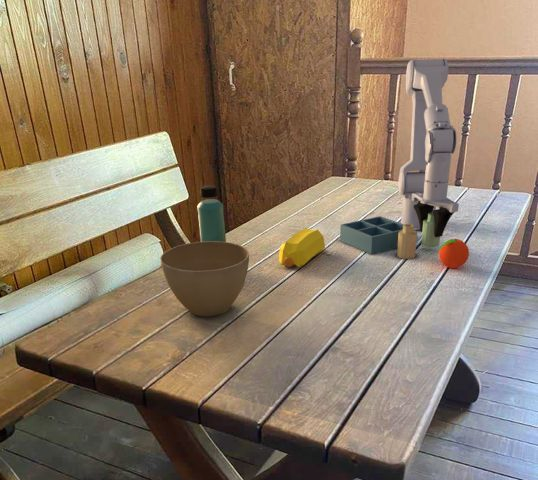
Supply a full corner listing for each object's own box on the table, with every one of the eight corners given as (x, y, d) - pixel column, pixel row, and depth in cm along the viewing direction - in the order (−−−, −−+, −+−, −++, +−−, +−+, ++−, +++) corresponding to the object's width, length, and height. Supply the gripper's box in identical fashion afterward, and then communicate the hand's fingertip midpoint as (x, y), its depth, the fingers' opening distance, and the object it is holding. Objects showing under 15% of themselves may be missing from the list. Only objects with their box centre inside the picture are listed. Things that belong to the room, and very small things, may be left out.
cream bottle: (406, 251, 152) (409, 221, 148) (418, 256, 148) (421, 226, 144) (393, 255, 150) (395, 224, 146) (405, 260, 146) (407, 229, 143)
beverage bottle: (224, 271, 144) (218, 190, 134) (199, 270, 145) (190, 189, 136) (231, 262, 149) (225, 183, 140) (206, 261, 151) (199, 183, 141)
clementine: (445, 275, 137) (449, 246, 133) (427, 265, 142) (430, 237, 139) (473, 269, 139) (477, 240, 136) (454, 260, 145) (458, 232, 141)
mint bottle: (430, 240, 154) (433, 210, 151) (442, 244, 151) (446, 214, 147) (417, 243, 153) (420, 213, 149) (429, 248, 149) (433, 217, 145)
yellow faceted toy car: (273, 268, 144) (301, 272, 141) (272, 242, 141) (301, 246, 138) (303, 246, 158) (329, 249, 155) (302, 222, 155) (329, 225, 152)
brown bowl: (169, 332, 115) (161, 274, 109) (165, 297, 131) (159, 245, 125) (258, 321, 118) (255, 265, 112) (244, 288, 134) (241, 237, 128)
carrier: (379, 231, 168) (380, 216, 165) (412, 244, 157) (413, 227, 155) (339, 240, 162) (340, 224, 160) (371, 254, 151) (372, 237, 149)
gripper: (404, 177, 148) (400, 229, 154) (445, 188, 137) (439, 244, 143) (425, 173, 151) (420, 225, 157) (467, 184, 140) (460, 238, 146)
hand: (431, 233), depth 150 cm, fingers closed on mint bottle, 4 cm apart
